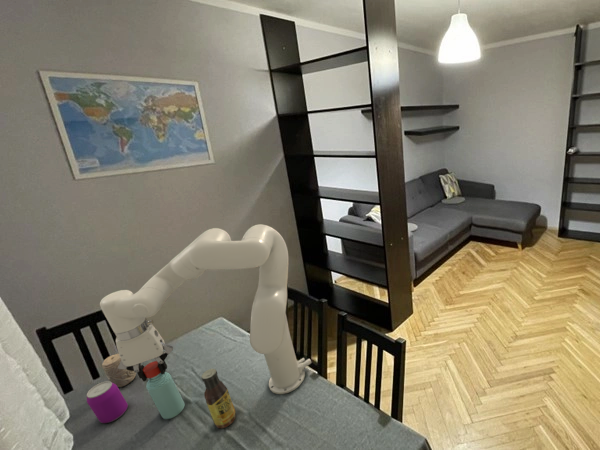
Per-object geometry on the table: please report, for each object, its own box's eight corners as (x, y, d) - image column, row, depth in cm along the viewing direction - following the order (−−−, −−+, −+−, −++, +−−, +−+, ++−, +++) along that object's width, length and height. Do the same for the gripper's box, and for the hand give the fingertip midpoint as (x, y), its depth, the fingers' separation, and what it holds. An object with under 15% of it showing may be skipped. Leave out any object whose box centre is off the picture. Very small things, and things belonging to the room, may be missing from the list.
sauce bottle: (228, 431, 98) (208, 385, 90) (211, 428, 99) (190, 382, 92) (241, 411, 104) (224, 367, 96) (225, 409, 105) (206, 365, 98)
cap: (147, 371, 101) (144, 364, 100) (163, 365, 103) (160, 359, 102) (144, 380, 97) (141, 373, 96) (161, 374, 99) (157, 368, 98)
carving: (110, 387, 118) (95, 363, 113) (131, 372, 124) (119, 348, 120) (119, 392, 115) (105, 368, 111) (141, 376, 122) (129, 352, 117)
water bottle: (182, 397, 111) (162, 356, 103) (186, 409, 106) (165, 366, 99) (160, 410, 107) (137, 368, 99) (163, 423, 102) (140, 379, 95)
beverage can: (96, 429, 102) (79, 403, 98) (104, 410, 109) (88, 385, 104) (125, 417, 105) (110, 392, 101) (131, 400, 112) (117, 375, 107)
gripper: (167, 312, 100) (186, 356, 107) (100, 333, 93) (125, 378, 100) (163, 325, 94) (184, 371, 101) (91, 348, 87) (119, 395, 94)
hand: (155, 374), depth 100 cm, fingers closed on cap, 4 cm apart
